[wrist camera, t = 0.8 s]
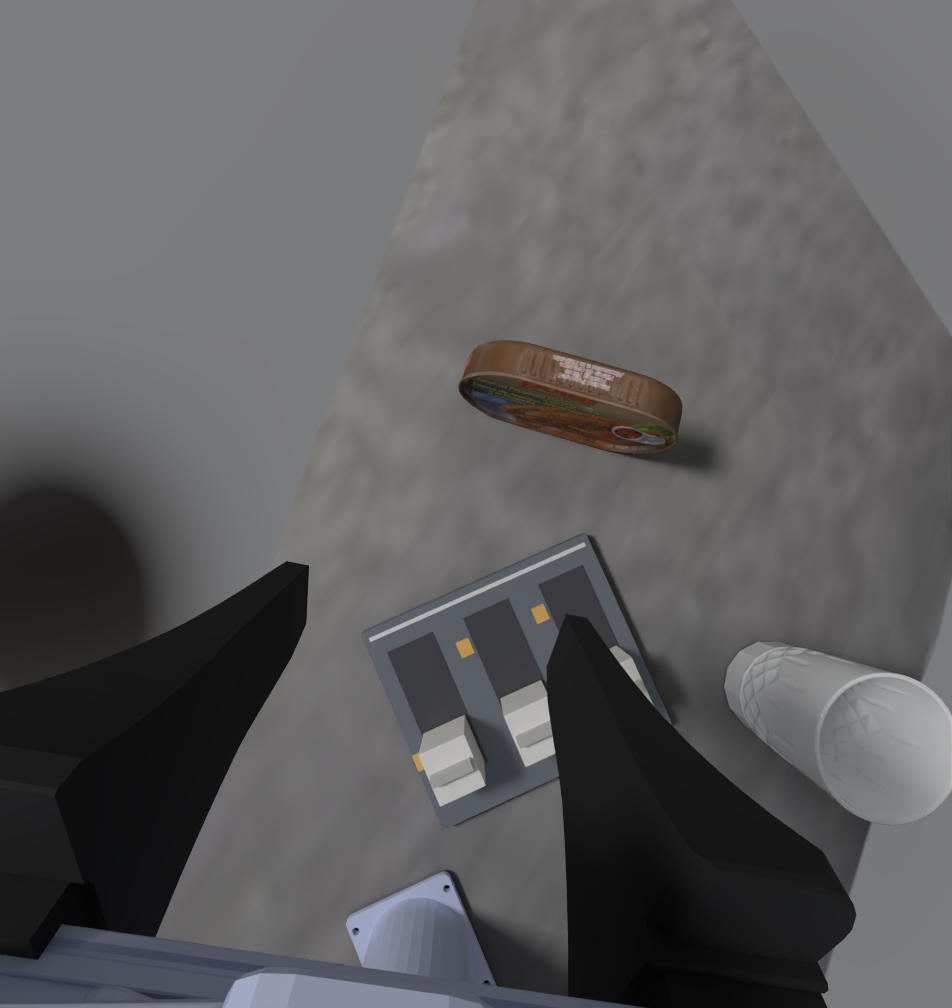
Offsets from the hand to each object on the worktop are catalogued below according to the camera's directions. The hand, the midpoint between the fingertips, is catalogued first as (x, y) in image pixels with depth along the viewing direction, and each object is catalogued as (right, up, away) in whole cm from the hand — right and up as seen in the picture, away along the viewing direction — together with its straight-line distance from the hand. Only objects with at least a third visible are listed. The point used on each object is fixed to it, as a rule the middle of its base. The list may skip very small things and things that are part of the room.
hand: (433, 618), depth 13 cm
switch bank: (+4, -9, +21) cm, 24 cm away
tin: (+8, +10, +23) cm, 26 cm away
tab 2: (+5, -12, +20) cm, 24 cm away
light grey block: (0, -14, +20) cm, 24 cm away
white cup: (+23, -10, +22) cm, 33 cm away
